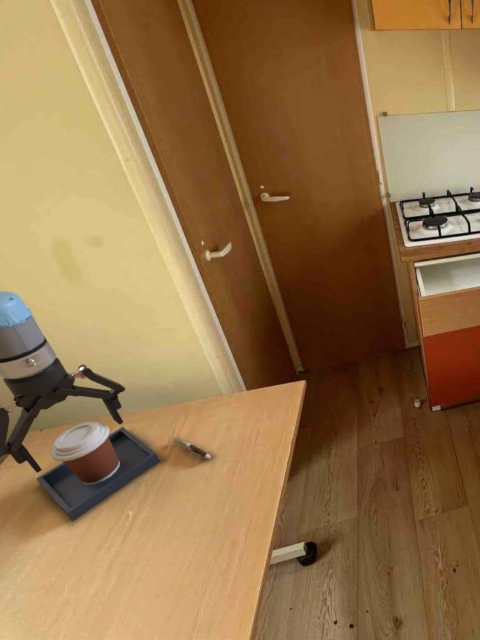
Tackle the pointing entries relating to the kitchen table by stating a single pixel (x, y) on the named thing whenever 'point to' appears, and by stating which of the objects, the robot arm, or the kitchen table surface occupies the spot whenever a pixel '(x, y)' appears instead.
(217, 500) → the kitchen table surface
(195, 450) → the pocket knife
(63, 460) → the coffee cup
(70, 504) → the tray
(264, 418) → the kitchen table surface
